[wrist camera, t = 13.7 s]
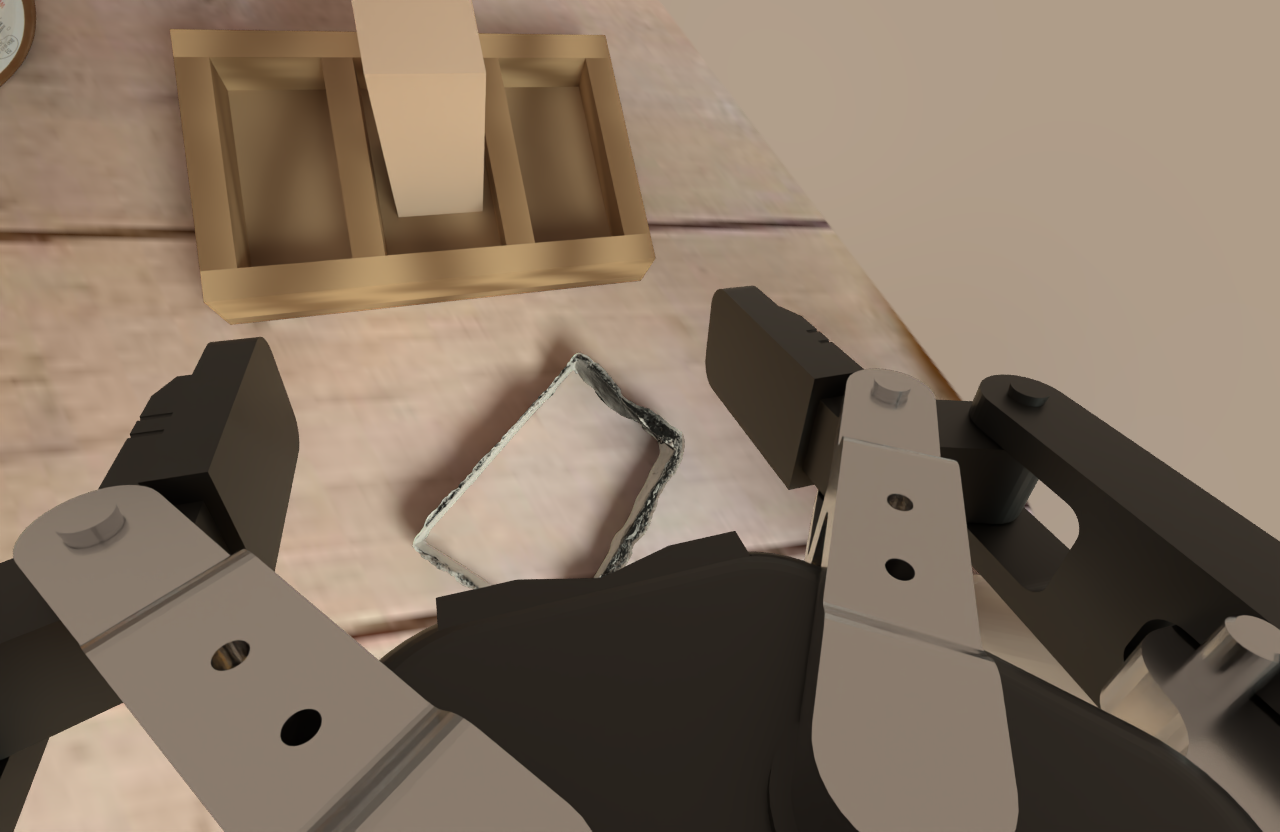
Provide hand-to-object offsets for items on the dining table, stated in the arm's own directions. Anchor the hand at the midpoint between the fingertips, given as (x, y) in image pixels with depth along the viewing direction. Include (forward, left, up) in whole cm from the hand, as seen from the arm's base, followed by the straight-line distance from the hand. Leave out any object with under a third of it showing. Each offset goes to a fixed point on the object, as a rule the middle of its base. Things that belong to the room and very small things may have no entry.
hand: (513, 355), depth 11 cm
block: (0, -17, -22) cm, 27 cm away
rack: (0, -17, -23) cm, 28 cm away
